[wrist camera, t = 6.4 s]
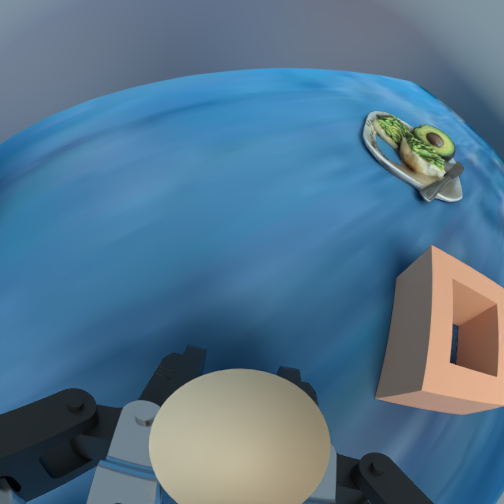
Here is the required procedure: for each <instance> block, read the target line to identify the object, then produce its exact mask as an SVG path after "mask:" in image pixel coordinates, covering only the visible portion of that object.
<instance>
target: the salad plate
mask: <svg viewBox="0 0 504 504" xmlns="http://www.w3.org/2000/svg"><path fill="white" fill-rule="evenodd" d="M376 134H377V135H379V136H380V138H381V139H383V140H384V141H385V142H386V143H388V144H389V145H390V146H392V147H393V148H394V149H395V150H396V151H397V152H398V154H399V156H400V158H401V159H400V162H401V163H402V165H399V164H396V163H393V162H392V161H390V160H389V159H387V158H386V157H385V156H384V155H383V153H382V152H381V150H380V149H379V147H378V146H377V142H376ZM362 138H363V140H364V142H365V144H366V146H367V148H368V149H369V150H370V152H371V153H372V155H373V156H374V157H375V158H376V160H377V161H378V162H379V163H380V164H381V165H382V166H383V167H384V168H386V169H387V170H388V171H389V172H390V173H392V174H393V175H395V176H396V177H398V178H399V179H401V180H403V181H404V182H406V183H408V184H409V185H411V186H413V187H414V188H416V189H417V190H418V191H419V193H420V195H421V196H422V198H423V199H424V200H425V201H427V202H431V201H432V200H433V199H434V198H437V199H441V200H444V201H447V202H454V201H459V200H460V199H461V198H462V189H461V184H460V180H459V175H460V174H462V172H463V170H464V167H463V166H462V165H461V163H460V162H456V161H455V160H454V159H453V156H454V153H455V146H454V143H453V141H452V140H451V138H450V137H449V136H448V135H446V134H445V133H444V132H443V131H441V130H439V129H437V128H435V127H433V126H430V125H420V127H415V128H413V127H412V126H410V125H409V124H407V123H405V122H404V121H402V120H400V119H399V118H397V117H396V116H393V115H391V114H389V113H386V112H382V111H372V112H371V113H369V114H368V116H367V117H366V119H365V125H364V129H363V137H362Z"/></svg>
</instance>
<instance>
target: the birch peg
mask: <svg viewBox="0 0 504 504" xmlns="http://www.w3.org/2000/svg"><path fill="white" fill-rule="evenodd" d="M330 447H331V444H330V435H329V430H328V426H327V424H326V421H325V419H324V416H323V414H322V413H321V411H320V409H319V407H318V406H317V405H316V404H315V402H314V401H313V400H312V399H311V398H310V397H309V396H308V395H307V394H306V393H305V392H304V391H303V390H302V389H300V388H299V387H298V386H296V385H295V384H293V383H291V382H290V381H288V380H286V379H284V378H281V377H279V376H277V375H274V374H271V373H267V372H264V371H258V370H253V369H227V370H221V371H215V372H212V373H208V374H205V375H203V376H200V377H198V378H195V379H193V380H191V381H190V382H188V383H186V384H184V385H183V386H182V387H180V388H179V389H178V390H176V391H175V392H174V393H173V394H172V395H171V396H170V397H169V398H168V399H167V400H166V401H165V403H164V404H163V405H162V406H161V408H160V410H159V411H158V413H157V415H156V417H155V419H154V422H153V424H152V427H151V432H150V436H149V454H150V460H151V464H152V468H153V470H154V473H155V475H156V477H157V479H158V481H159V482H160V484H161V486H162V487H163V488H164V490H165V491H166V492H167V493H168V494H169V496H171V497H172V498H173V499H174V500H175V501H176V502H177V503H178V504H302V503H303V502H304V501H305V500H306V499H307V498H308V497H309V496H310V495H311V494H312V493H313V492H314V491H315V489H316V488H317V487H318V485H319V484H320V482H321V480H322V478H323V476H324V474H325V472H326V469H327V466H328V463H329V458H330Z"/></svg>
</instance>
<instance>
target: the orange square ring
mask: <svg viewBox="0 0 504 504" xmlns="http://www.w3.org/2000/svg"><path fill="white" fill-rule="evenodd" d="M452 323H453V324H455V325H457V326H459V327H458V347H457V359H456V365H455V364H452V363H450V354H451V342H452ZM375 399H379V400H383V401H387V402H392V403H396V404H401V405H405V406H410V407H415V408H421V409H426V410H432V411H438V412H445V413H452V414H459V415H463V414H469V413H475V412H480V411H485V410H490V409H494V408H498V407H502V406H504V288H502V287H501V286H499V285H498V284H496V283H495V282H493V281H492V280H490V279H489V278H487V277H486V276H484V275H482V274H481V273H479V272H478V271H476V270H474V269H473V268H471V267H469V266H468V265H466V264H464V263H463V262H461V261H459V260H458V259H456V258H454V257H452V256H451V255H449V254H447V253H445V252H444V251H442V250H440V249H438V248H436V247H435V246H433V245H431V246H430V247H429V248H428V249H427V250H426V251H425V252H424V253H423V254H422V255H421V256H420V257H418V258H417V259H416V260H415V261H414V262H413V263H412V264H411V265H410V266H409V267H408V268H407V269H406V270H404V271H403V272H402V273H401V274H400V275H399V276H398V277H397V278H396V286H395V296H394V304H393V312H392V319H391V325H390V331H389V337H388V343H387V348H386V353H385V358H384V363H383V367H382V372H381V376H380V380H379V384H378V388H377V392H376V396H375Z"/></svg>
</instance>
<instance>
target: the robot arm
mask: <svg viewBox="0 0 504 504" xmlns="http://www.w3.org/2000/svg"><path fill="white" fill-rule="evenodd" d="M206 352H207V349H204V348H200V347H196V346H193V345H188V346H187V348H186V350H185V352H184V354H183V355H180V354H176V353H171V354H169V355H168V356H166V357H164V358H163V360H162V361H161V363H160V365H159V367H158V368H157V369H156V371H155V373H154V374H153V376H152V378H151V379H150V381H149V383H148V384H147V386H146V388H145V389H144V391H143V393H142V394H141V396H140V398H139V399H138V400H137V401H133V402H130V403H128V404H127V405H125V406H124V408H112V407H107V406H101V405H96V402H95V400H94V398H93V397H92V396H91V395H90V394H89V393H88V392H86V391H84V390H81V389H76V388H70V389H66V390H63V391H60V392H58V393H56V394H53V395H51V396H48V397H46V398H43V399H41V400H38V401H36V402H33V403H31V404H28V405H25V406H23V407H20V408H18V409H15V410H12V411H9V412H7V413H4V414H1V415H0V504H26V503H25V502H28V501H30V500H32V499H34V498H37V497H39V496H41V495H43V494H45V493H47V492H49V491H51V490H53V489H55V488H57V487H59V486H61V485H63V484H65V483H67V482H69V481H70V480H72V479H74V478H76V477H78V476H79V475H81V474H83V473H85V472H87V471H88V470H90V469H92V468H93V467H95V466H97V465H98V466H97V468H96V472H95V475H94V478H93V482H92V485H91V489H90V493H89V496H88V500H87V504H161V502H162V491H163V487H162V486H161V484H160V482H159V481H158V479H157V477H156V475H155V473H154V470H153V468H152V464H151V460H150V454H149V436H150V432H151V427H152V424H153V422H154V419H155V417H156V415H157V413H158V411H159V410H160V408H161V406H162V405H163V404H164V403H165V401H166V400H167V399H168V398H169V397H170V396H171V395H172V394H173V393H174V392H175V391H176V390H178V389H179V388H180V387H182V386H183V385H184V384H186V383H188V382H190V381H191V380H193V379H195V378H198V377H200V376H202V374H203V369H204V363H205V358H206ZM277 376H279V377H281V378H284V379H286V380H288V381H290V382H291V383H293V384H295V385H296V386H298V387H299V388H300V389H302V390H303V391H304V392H305V393H306V394H307V395H308V396H309V397H310V398H311V399H312V400H313V401H314V402H315V404H316V405H317V406H318V403H317V397H316V392H315V391H314V389H313V388H312V387H311V385H310V384H309V383H305V382H301V378H300V371H299V369H294V368H288V367H282V366H280V368H279V370H278V372H277ZM330 444H331V443H330ZM368 500H369V501H368ZM369 502H370V503H371V504H434V503H433V502H432V501H431V500H430V499H429V498H428V497H427V496H426V495H425V494H424V493H423V492H422V491H421V490H420V489H419V488H418V487H417V486H416V485H415V484H414V483H413V482H412V481H411V480H410V479H409V478H408V477H407V476H406V475H405V474H404V473H403V472H402V470H401V469H400V468H399V467H398V466H397V465H396V464H395V463H394V462H393V461H392V460H391V459H390V458H389V457H387V456H386V455H384V454H381V453H369V454H366V455H365V456H363V457H362V458H361V459H360V460H358V459H354V458H350V457H346V456H343V455H340V454H338V453H336V450H335V448H334V447H333V445H332V444H331V447H330V458H329V463H328V466H327V469H326V472H325V474H324V476H323V478H322V480H321V482H320V484H319V485H318V487H317V488H316V489H315V491H314V492H313V493H312V494H311V495H310V496H309V497H308V498H307V499H306V500H305V501H304V502H303V503H302V504H370V503H369Z"/></svg>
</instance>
